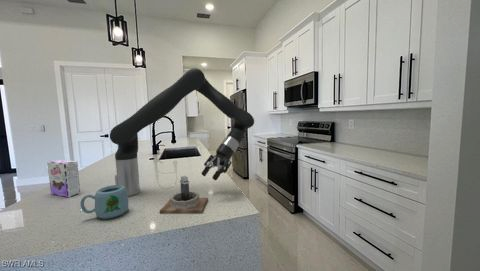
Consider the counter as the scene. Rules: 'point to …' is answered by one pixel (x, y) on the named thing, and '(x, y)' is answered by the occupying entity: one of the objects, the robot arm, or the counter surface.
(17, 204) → the counter surface
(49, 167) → the candy box
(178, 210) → the stand
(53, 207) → the counter surface
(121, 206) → the mug
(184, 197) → the grey post on base
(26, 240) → the counter surface
